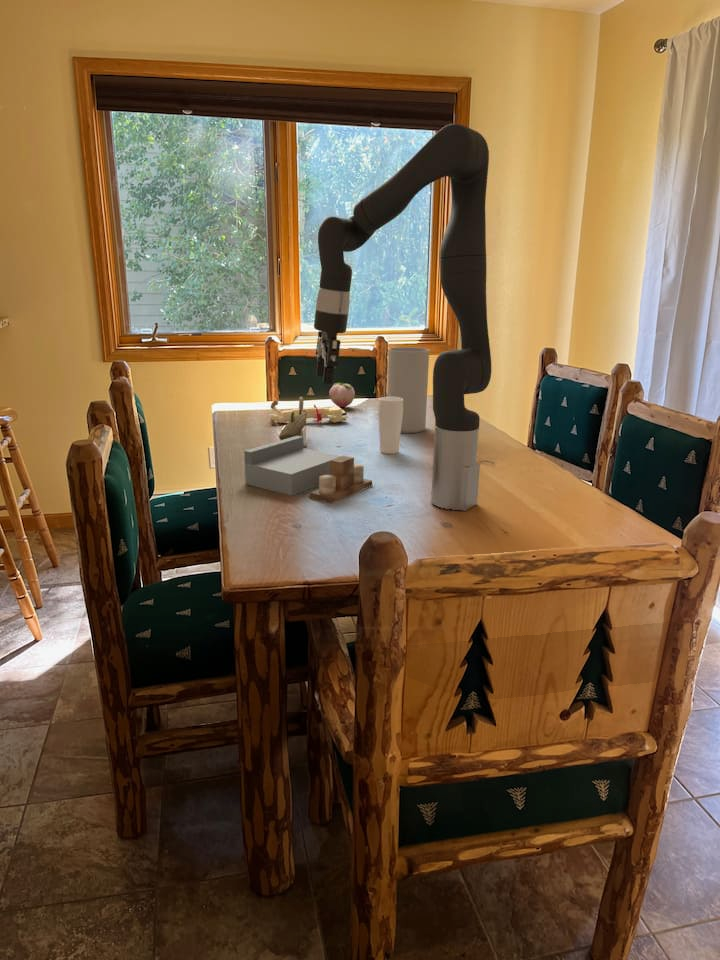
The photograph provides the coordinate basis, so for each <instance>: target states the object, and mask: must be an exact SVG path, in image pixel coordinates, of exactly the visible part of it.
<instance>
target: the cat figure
mask: <svg viewBox="0 0 720 960" xmlns="http://www.w3.org/2000/svg"><path fill="white" fill-rule="evenodd" d="M278 405H279V401H278V400H277V399H274V400H273V401H272V403H271V405H270V409H271V410H272V411H274V412H276V414H273V413H272V414H271V413H270V423H271V422H272V423H271V426H274V425H276V423H275V422H278V423H279V424H282V423H283V424H284V423H288V422H289V420H290V419H291V414H292V412H294V416H295V415H296V414H297V413H298V412H299V408H294V409H291V410H283V411H281V410H280V409H279V408H277V406H278ZM303 410H305V413H307V414H306V419H314V420H315V419H316V425H317V424H318V425H319V424H320V422H321V421H323V419H329V421H330V422H331V423H339V422H346V421H347V419H349V415H347V413H348V412H346V411H345V409H342V408H340V407H339V406H332V407H329V408H328V407H317V406H316V404H313V407H303Z"/></svg>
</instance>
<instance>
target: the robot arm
mask: <svg viewBox="0 0 720 960" xmlns="http://www.w3.org/2000/svg"><path fill="white" fill-rule="evenodd" d="M489 163H490V151H489V145H488V143H487V140H486V138H485V137H484V136H483V135H482V133H480V132H478V131H477V130H474V129H472V128H471V127H469V126H466V125H463V124H461V123H449V124H446V125H445V126H443V127H442V128H441V129H440V130H438V131H437V132H436V133H435V134H434V135H433V136H431V138H430V139H429V140H428V141H427V142H425V144H424V145H423V146H422V147H421V148H420V149H419V150H418V151H417V152H416V153H414V155H413V156H412V157H411V158H410V159H409V160H408V161H407V162H406V163H405V164H404V165H403V166H402V167H401V168H399V170H398V171H396V173H394V174H393V175H392V176H391V177H389V178H388V179H387V180H385V181H384V182H383V183H382V184H380V185H379V186H377V187H376V188H375V189H374V190H372V191H370V193H368V194H367V195H365V196H364V197H363V198H361V199H360V200H358V201H357V203H356V204H355V205H354V206H353V210H352V211H353V213H352V214H353V215H351V216H350V217H347V218H346V217H341V216H337V215H332V216H328V217H326V218H325V219H324V220H323V221H321V222H322V223H321V224H320V226H319V227H318V228H319V229H318V234H317V243H318V244H317V247H318V253H319V254H318V255H319V262H320V269H321V270H320V278H319V286H318V293H317V296H316V304H315V313H314V323H313V328H314V329H315V330H317V331H318V333H317V342H316V348H315V350H316V351H315V355H316V360H317V362H316V364H317V365H316V372H315V374H316V376H317V377H323V378H322V382H323V384H326V385H333V384H334V376H335V375H334V374H335V369H336V368H337V367H339V358H340V347H341V340H340V339H338V334H345V333H346V332H347V326H348V320H349V318H348V317H349V309H350V302H351V300H350V298H351V297H350V293H351V287H352V286H351V284H352V276H353V271H352V270H353V269H352V267H351V266H350V265H349V264H348V263H346V262H345V257H344V253H350V252H354V251H356V250H358V249H360V248H361V247H362V246H363V245H364V244H366V243H367V241H368V240H369V239H370V238H371V237H372V236H373V235H374V234H375V233H376V231H377V230H380V229H381V228H382V227H384V226H385V225H387V224H388V223H390V222H391V221H393V220H395V219H396V218H397V217H398V216H399V215H400V214H402V212H404V210H406V208H407V207H408V206H409V204H410V203H411V202H412V200H413V199H414V198H415V196H416V195H417V194H418V193H419V192H420V191H422V190H423V189H425V187H427V186H428V185H430V184H432V183H434V182H436V181H437V180H440V179H443V178H445V177H448V178H449V180H450V190H451V194H450V195H451V208H450V215H449V219H448V222H447V225H446V228H445V231H444V234H443V237H442V241H441V245H440V248H439V249H440V251H439V270H440V271H439V275H440V277H439V278H440V285H441V289H442V292H443V294H444V296H445V299H446V300H447V302H448V303H449V306H450V308H451V309H452V311H453V313H454V315H455V318H456V320H457V322H458V325H459V330H460V344H461V345H460V347H461V349H453V350H450V349H449V350H444V351H442V352H441V353H439V355H438V356H437V357H436V359H435V362H434V365H433V370H432V411H433V414H434V415H433V416H434V419H435V421H434V426H435V427H434V439H433V440H434V441H433V457H432V458H433V459H432V474H431V475H432V476H431V492H430V493H431V494H430V495H431V496H430V497H431V498H430V503H431V502H432V503H433V504H434V505H436V506H438V507H437V508H439V507H441V508H440V509H443V508H445V509H444V510H449V509H452V510H451V511H465V512H466V511H468V510H469V509H470V508H472V507H474V506H476V505H478V496H479V483H480V470H481V463H480V462H479V461H478V458H477V457H478V445H479V430H480V415H479V413H478V412H476V411H473V410H471V409H468V408H466V406H465V395H470V394H478V393H481V392H484V391H485V390H486V389H487V388H488V386H489V384H490V382H491V377H492V355H491V346H490V337H489V326H488V309H487V308H488V307H487V306H488V305H487V243H486V242H487V238H486V237H487V234H486V233H487V231H486V229H487V225H486V200H487V199H486V198H487V186H488V174H489V173H488V172H489ZM432 503H431V504H432ZM433 504H432V505H433ZM434 505H433V506H434ZM436 506H435V507H436Z"/></svg>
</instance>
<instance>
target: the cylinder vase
mask: <svg viewBox="0 0 720 960" xmlns="http://www.w3.org/2000/svg"><path fill="white" fill-rule="evenodd" d="M387 352H388V353H387V354H388V356H387V377H386V378H387V387H386V397H400V398H403V418H402V426H401V434H416V433H415V432H417V433H420V432H424V431H425V430H426V424H427V422H426V421H427V405H428V404H427V403H428V402H427V401H428V386H429V385H428V384H429V383H428V381H429V368H430V367H429V364H430V363H429V361H430V349H428V348H424V347H415V346H414V347H412V346H408V347H407V346H399V347H398V346H397V347H395V346H394V347H390V348H388V351H387Z"/></svg>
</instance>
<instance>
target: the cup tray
mask: <svg viewBox="0 0 720 960" xmlns="http://www.w3.org/2000/svg"><path fill="white" fill-rule="evenodd" d="M340 456H341V457H338V458H335V459H332V460H330V475H322V476H320V477H319V485H318V489H316V490H312V491H310V492H309V499H313V500H317V501H320V500H321V501H320V502H324V501H325V502H324V503H328V504H334V503H335V501H336V502H338V501H340V500H343V499H345V498H347V497H350V496H352V495H354V494H355V493H359V492H361V491H363V490H365V489H368V488H370V487H372V486H373V480H372V479H367V478H364V475H365V474H364V470H365V469H364V467H365V466H364V465H363V464H359V463H356V464H355V457H352V456H348V455H340ZM371 485H372V486H371ZM369 486H370V487H369ZM367 487H368V488H367ZM364 488H365V489H364ZM362 489H363V490H362ZM360 490H361V491H360ZM358 491H359V492H358ZM353 493H354V494H353ZM351 494H352V495H351ZM346 496H347V497H346ZM344 497H345V498H344ZM342 498H343V499H342ZM339 499H340V500H339ZM337 500H338V501H337Z"/></svg>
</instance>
